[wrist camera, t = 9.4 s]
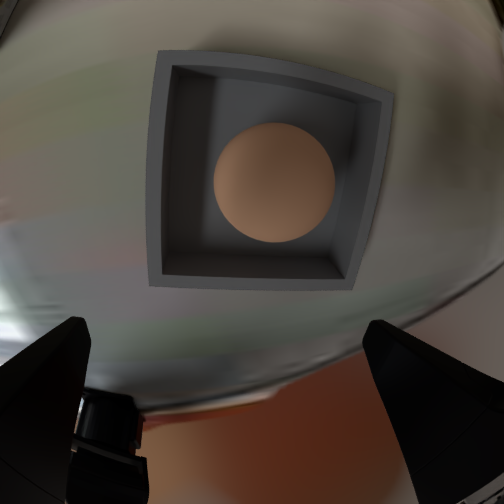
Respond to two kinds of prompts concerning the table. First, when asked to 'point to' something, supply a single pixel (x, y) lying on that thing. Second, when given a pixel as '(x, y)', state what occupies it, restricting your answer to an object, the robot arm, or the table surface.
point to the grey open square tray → (214, 141)
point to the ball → (274, 182)
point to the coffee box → (5, 12)
